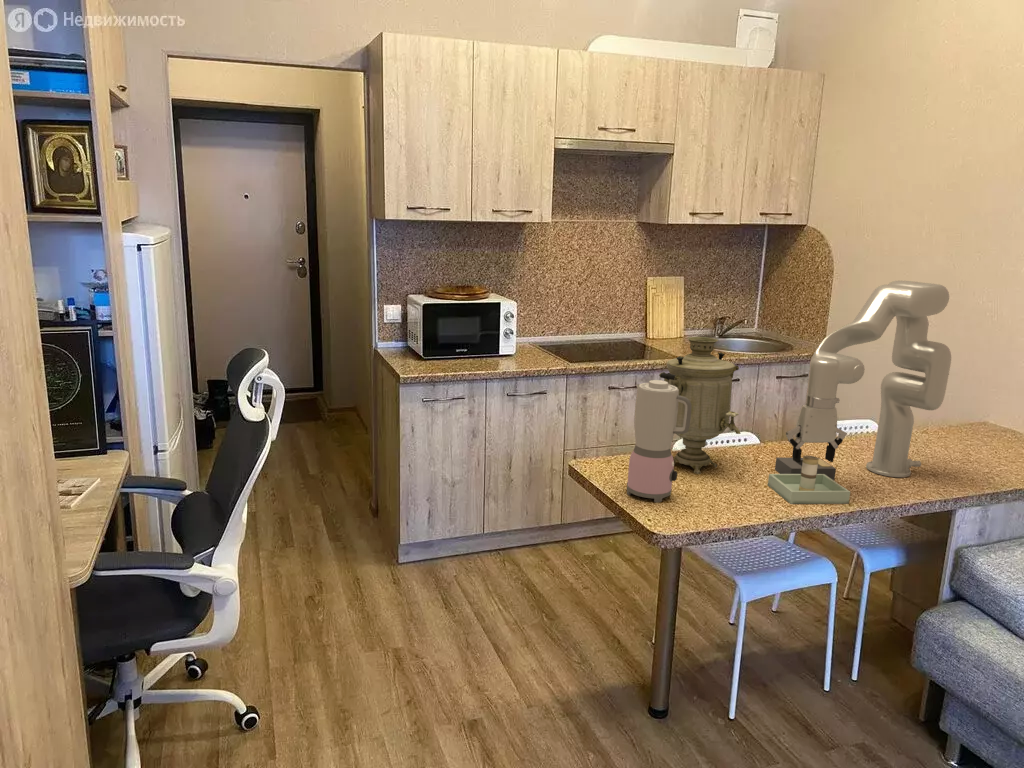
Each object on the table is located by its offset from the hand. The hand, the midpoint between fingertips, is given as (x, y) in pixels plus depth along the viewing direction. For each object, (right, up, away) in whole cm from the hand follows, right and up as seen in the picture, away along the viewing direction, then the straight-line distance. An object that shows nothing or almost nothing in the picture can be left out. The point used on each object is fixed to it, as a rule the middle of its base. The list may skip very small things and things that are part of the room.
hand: (812, 460), depth 207 cm
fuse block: (+5, -6, +18) cm, 19 cm away
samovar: (-28, -5, +20) cm, 35 cm away
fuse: (-1, -9, +2) cm, 9 cm away
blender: (-45, -9, -4) cm, 47 cm away
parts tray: (-1, -10, +2) cm, 10 cm away
